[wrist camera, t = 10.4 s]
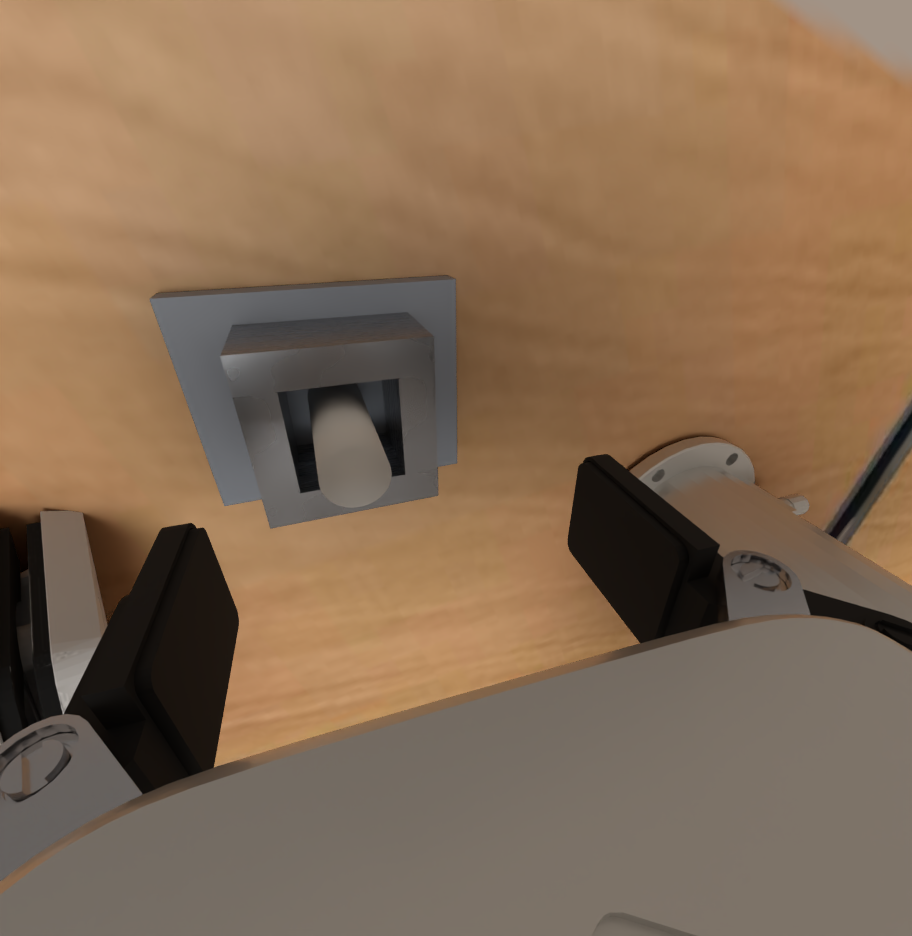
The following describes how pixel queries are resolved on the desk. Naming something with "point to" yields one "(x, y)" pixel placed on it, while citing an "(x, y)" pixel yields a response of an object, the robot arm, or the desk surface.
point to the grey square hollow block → (329, 364)
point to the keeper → (316, 409)
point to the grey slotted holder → (46, 619)
